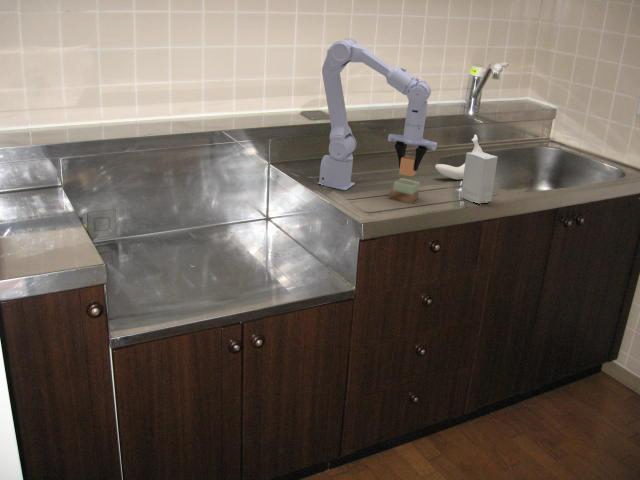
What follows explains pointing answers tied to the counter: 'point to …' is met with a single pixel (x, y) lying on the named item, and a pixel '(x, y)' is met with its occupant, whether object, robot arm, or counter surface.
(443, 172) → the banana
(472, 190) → the skincare box
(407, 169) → the terracotta block
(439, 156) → the counter surface
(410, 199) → the walnut slab
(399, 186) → the sage block
